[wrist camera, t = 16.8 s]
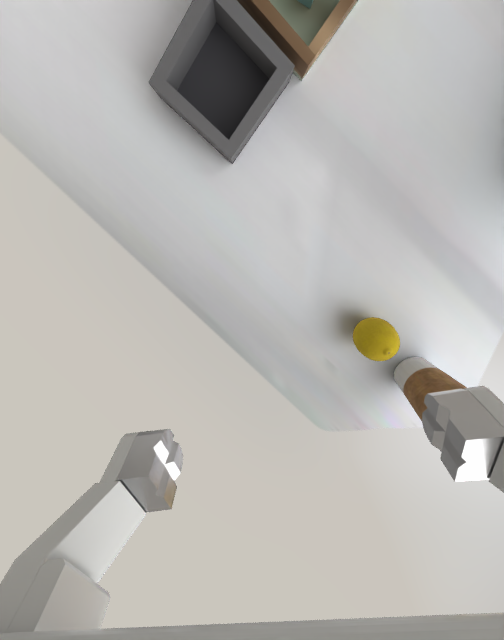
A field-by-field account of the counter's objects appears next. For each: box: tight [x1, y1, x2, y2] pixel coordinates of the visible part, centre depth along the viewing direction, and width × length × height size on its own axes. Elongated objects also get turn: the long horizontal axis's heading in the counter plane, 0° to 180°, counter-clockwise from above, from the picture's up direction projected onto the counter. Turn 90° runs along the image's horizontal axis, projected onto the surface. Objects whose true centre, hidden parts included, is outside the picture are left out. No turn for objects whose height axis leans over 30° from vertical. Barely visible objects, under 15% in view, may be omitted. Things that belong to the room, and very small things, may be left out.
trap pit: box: [149, 0, 295, 164], centre depth 28 cm, size 10×10×4 cm
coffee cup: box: [394, 357, 467, 452], centre depth 38 cm, size 8×8×15 cm
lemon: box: [353, 317, 400, 361], centre depth 38 cm, size 6×6×8 cm
